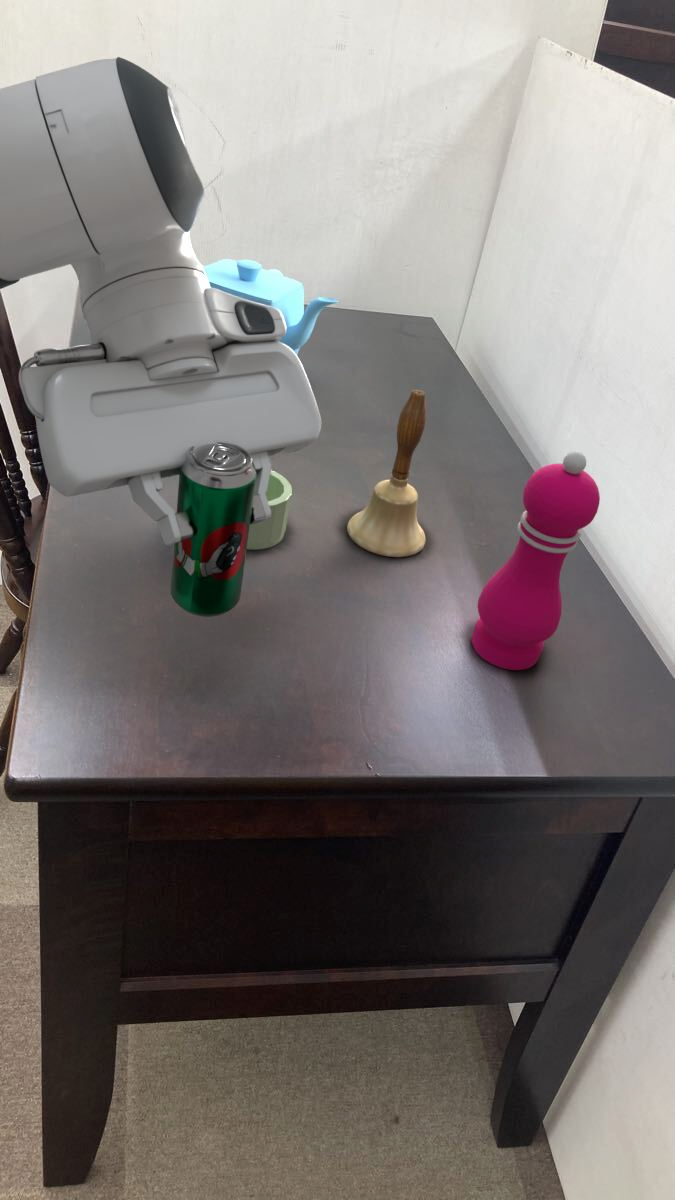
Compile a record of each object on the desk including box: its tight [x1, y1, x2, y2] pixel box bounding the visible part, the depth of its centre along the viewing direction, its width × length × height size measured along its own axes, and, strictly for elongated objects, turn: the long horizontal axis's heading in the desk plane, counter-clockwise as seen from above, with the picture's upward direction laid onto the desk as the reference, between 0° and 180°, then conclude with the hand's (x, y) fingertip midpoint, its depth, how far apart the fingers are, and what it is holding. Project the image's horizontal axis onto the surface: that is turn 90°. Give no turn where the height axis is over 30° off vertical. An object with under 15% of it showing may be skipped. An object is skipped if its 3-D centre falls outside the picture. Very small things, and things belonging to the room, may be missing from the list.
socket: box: [247, 469, 293, 551], centre depth 88 cm, size 8×8×5 cm
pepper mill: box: [471, 450, 601, 671], centre depth 75 cm, size 7×7×20 cm
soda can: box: [170, 441, 256, 618], centre depth 62 cm, size 5×5×12 cm
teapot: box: [201, 258, 339, 356], centre depth 117 cm, size 18×16×14 cm
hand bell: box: [346, 389, 427, 558], centre depth 88 cm, size 8×8×16 cm
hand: (220, 531), depth 61 cm, fingers closed on soda can, 5 cm apart
